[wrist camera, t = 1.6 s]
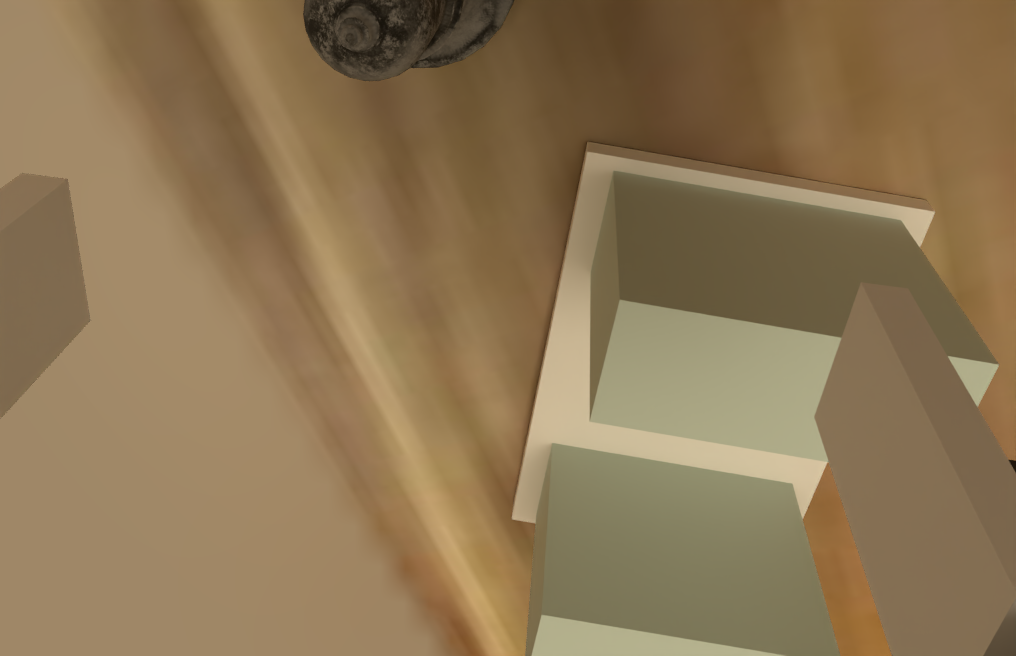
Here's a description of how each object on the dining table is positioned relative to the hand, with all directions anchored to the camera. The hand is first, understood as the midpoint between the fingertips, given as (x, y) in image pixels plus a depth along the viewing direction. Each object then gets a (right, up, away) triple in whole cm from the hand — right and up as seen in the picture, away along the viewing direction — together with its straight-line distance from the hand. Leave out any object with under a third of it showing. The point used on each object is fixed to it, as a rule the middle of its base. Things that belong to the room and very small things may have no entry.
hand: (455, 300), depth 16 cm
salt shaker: (-1, +12, +14) cm, 18 cm away
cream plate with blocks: (+8, -2, +21) cm, 23 cm away
